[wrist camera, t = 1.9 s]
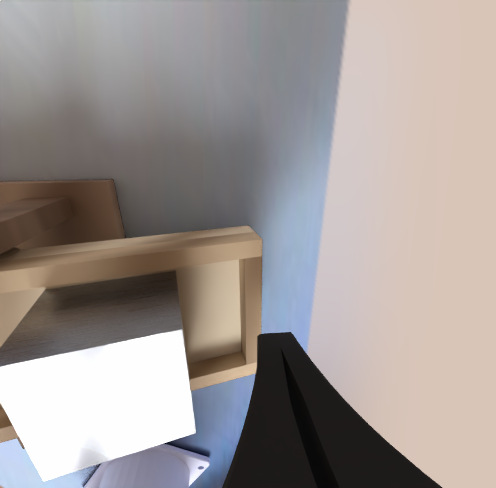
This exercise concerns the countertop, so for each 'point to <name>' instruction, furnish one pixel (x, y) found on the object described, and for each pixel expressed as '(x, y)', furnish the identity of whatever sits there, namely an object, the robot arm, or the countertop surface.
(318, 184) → the countertop surface
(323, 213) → the countertop surface
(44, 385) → the block
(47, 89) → the countertop surface
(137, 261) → the beam
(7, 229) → the stand
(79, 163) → the countertop surface
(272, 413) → the robot arm
